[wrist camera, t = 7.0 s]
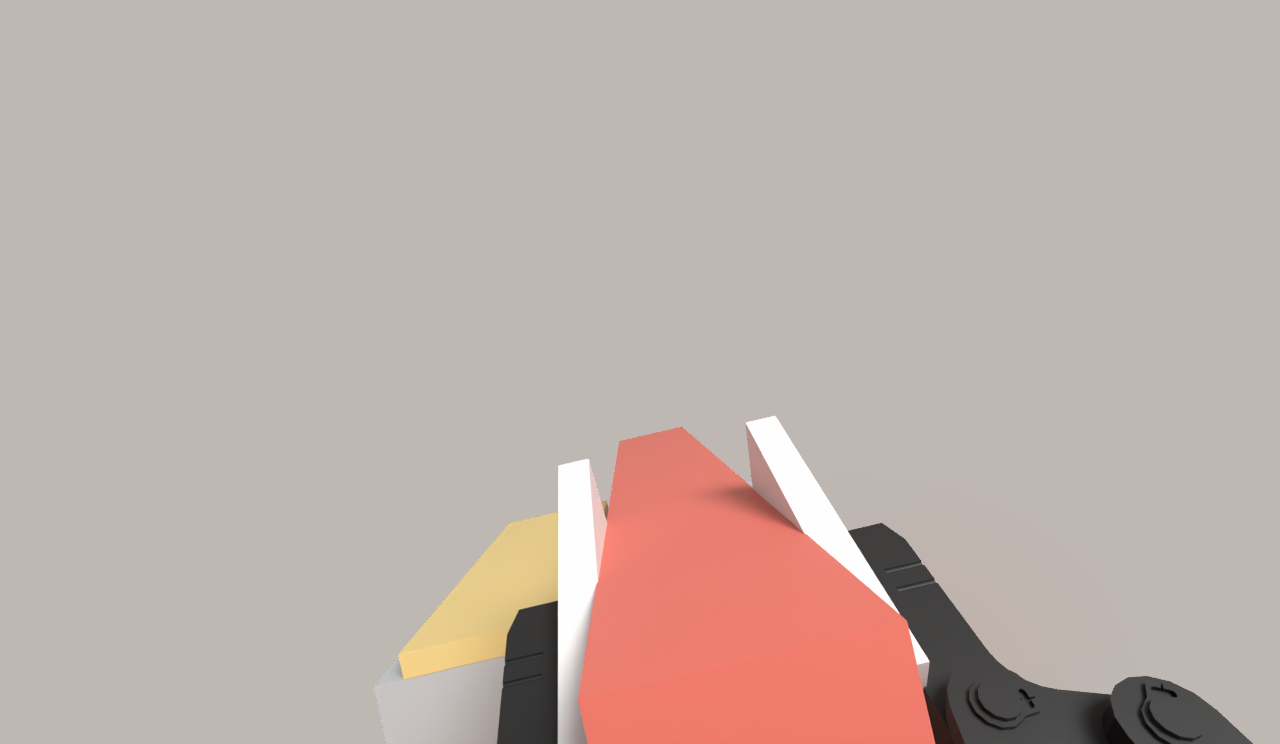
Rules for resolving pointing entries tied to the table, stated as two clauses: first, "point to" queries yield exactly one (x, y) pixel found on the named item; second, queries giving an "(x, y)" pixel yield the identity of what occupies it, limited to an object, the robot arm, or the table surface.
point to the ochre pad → (489, 599)
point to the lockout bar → (733, 620)
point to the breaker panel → (442, 704)
